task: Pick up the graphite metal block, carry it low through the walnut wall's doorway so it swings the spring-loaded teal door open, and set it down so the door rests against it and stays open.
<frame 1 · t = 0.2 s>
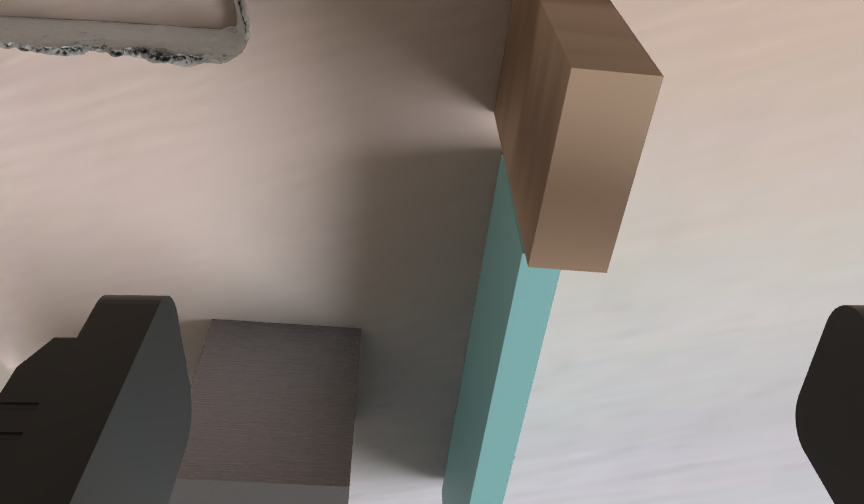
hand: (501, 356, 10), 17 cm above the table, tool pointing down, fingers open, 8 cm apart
wall frame: (518, 136, 27), on the table
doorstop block: (287, 372, 34), on the table
door: (487, 402, 30), point 3 cm above the table, hinge at 0.0°
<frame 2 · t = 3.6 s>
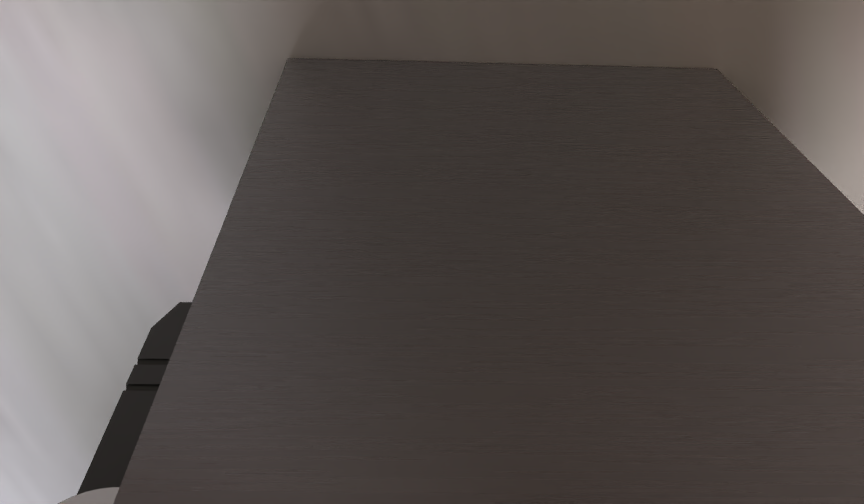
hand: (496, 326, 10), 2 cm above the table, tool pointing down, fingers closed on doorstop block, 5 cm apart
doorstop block: (487, 261, 12), on the table, touching gripper
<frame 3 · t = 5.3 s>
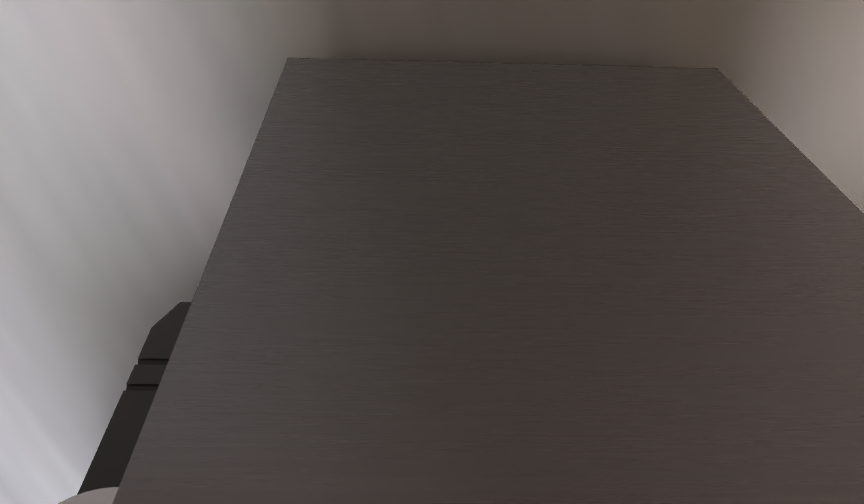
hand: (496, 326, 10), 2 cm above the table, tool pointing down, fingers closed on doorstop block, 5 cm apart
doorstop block: (487, 260, 12), point 1 cm above the table, touching gripper
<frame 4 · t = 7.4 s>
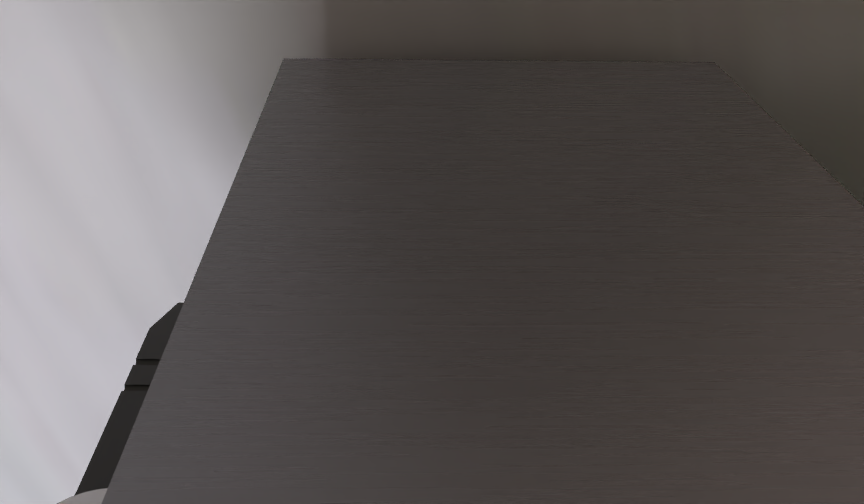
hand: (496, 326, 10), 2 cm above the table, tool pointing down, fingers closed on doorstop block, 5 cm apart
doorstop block: (487, 259, 12), point 1 cm above the table, touching gripper
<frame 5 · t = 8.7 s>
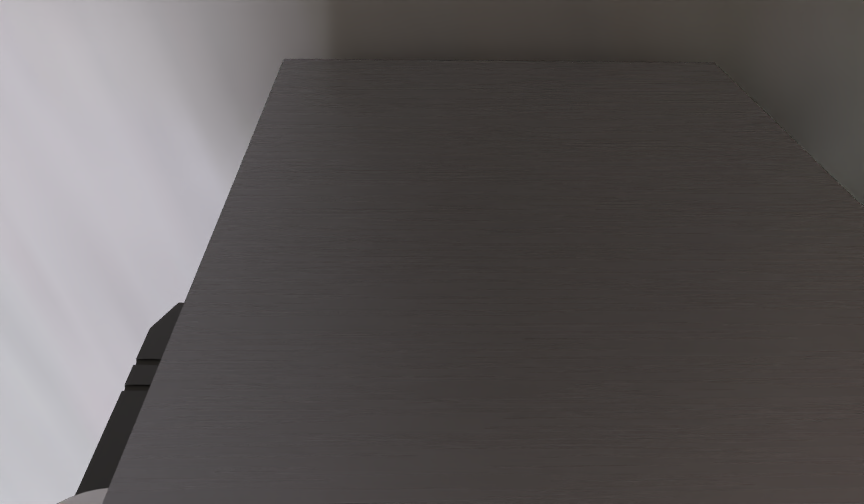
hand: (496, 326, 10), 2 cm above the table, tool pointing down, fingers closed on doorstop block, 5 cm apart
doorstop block: (487, 259, 12), point 1 cm above the table, touching gripper
when the fingers open (2 cm above the table, at t = 10.1 s): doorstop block stays where it is, on the table.
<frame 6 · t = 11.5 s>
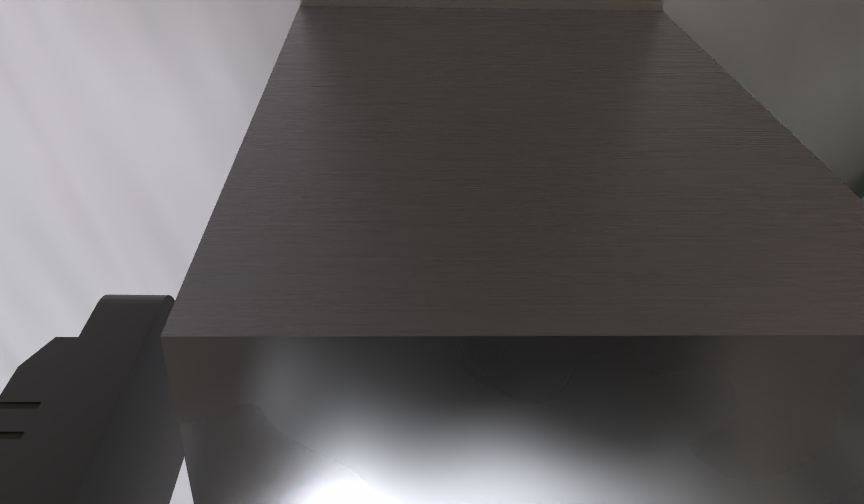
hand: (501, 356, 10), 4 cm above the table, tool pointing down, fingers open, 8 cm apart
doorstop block: (472, 185, 13), on the table
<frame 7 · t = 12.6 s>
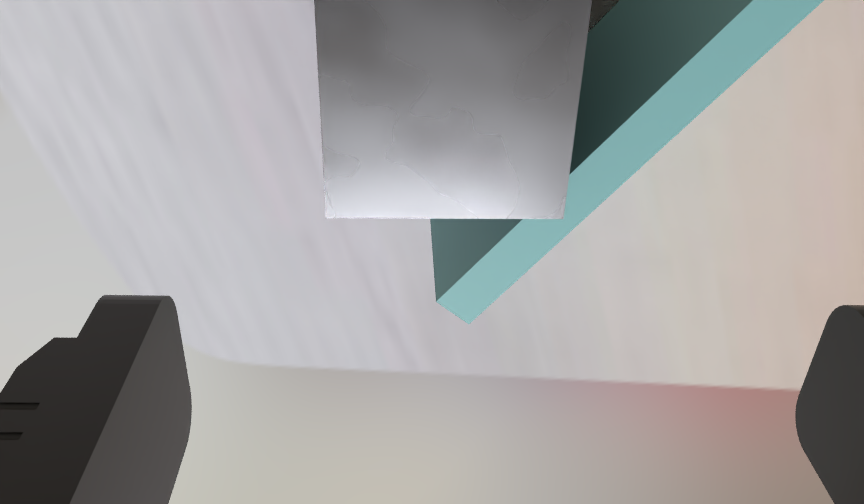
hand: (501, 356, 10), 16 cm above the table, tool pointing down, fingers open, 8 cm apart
door: (675, 30, 20), point 3 cm above the table, hinge at 50.6°, touching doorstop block
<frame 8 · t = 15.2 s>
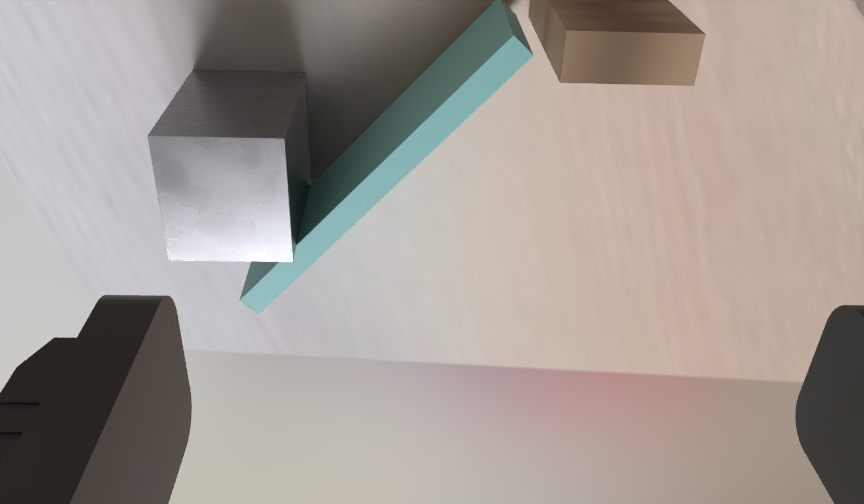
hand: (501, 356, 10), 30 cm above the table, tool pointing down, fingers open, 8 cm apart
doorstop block: (254, 127, 40), on the table, touching door
door: (375, 159, 37), point 3 cm above the table, hinge at 47.5°, touching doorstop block
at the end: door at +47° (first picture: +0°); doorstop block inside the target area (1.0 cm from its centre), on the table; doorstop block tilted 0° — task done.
